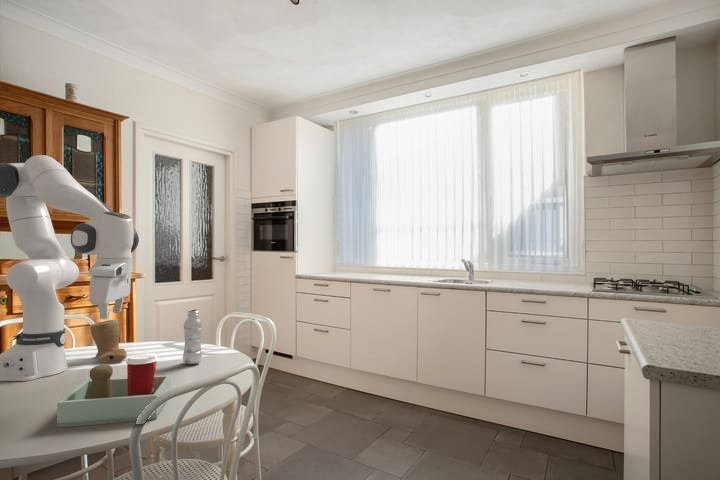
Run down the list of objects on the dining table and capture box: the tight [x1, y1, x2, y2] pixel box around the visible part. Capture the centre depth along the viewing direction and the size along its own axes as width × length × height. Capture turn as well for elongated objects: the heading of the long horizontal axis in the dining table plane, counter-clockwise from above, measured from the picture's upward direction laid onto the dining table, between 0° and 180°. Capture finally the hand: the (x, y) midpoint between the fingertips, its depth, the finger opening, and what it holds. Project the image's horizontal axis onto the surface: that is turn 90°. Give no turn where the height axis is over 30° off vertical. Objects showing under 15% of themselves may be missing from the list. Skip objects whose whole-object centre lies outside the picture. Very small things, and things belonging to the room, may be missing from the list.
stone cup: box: [90, 319, 128, 364], centre depth 148 cm, size 15×12×15 cm
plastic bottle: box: [182, 309, 203, 365], centre depth 144 cm, size 6×7×20 cm
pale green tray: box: [56, 374, 172, 428], centre depth 104 cm, size 22×16×6 cm
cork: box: [89, 364, 114, 399], centre depth 103 cm, size 6×6×11 cm
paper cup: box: [125, 353, 159, 396], centre depth 105 cm, size 8×8×14 cm
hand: (110, 315), depth 111 cm, fingers open, 8 cm apart
